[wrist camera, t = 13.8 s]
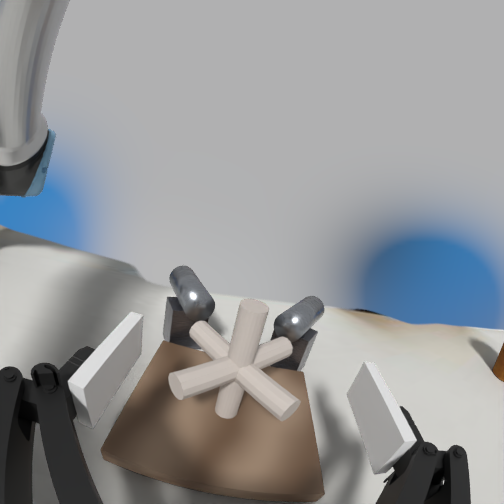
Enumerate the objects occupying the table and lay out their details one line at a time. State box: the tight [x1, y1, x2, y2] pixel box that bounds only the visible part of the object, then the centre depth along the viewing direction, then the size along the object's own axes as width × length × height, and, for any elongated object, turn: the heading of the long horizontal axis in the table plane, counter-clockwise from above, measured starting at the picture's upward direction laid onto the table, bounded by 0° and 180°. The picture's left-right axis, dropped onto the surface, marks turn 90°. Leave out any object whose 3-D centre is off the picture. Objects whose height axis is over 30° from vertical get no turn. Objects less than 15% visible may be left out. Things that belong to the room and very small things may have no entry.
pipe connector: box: [168, 299, 301, 421], centre depth 18 cm, size 10×10×10 cm
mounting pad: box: [101, 340, 325, 502], centre depth 19 cm, size 15×15×2 cm
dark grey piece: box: [270, 296, 324, 371], centre depth 29 cm, size 7×4×8 cm, turn 148°
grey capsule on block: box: [163, 266, 215, 349], centre depth 29 cm, size 7×4×8 cm, turn 28°
